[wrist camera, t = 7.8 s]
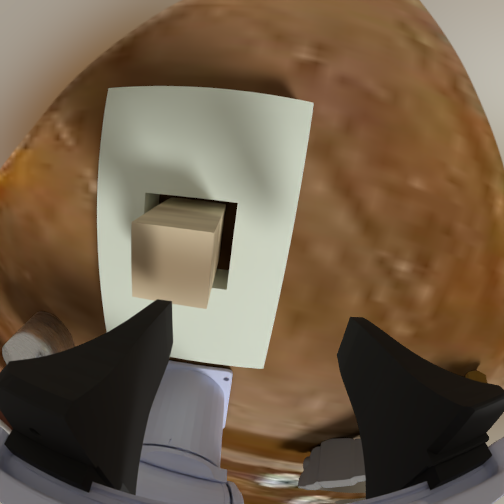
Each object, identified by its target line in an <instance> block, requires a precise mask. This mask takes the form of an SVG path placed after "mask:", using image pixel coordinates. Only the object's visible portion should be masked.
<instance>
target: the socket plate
mask: <svg viewBox="0 0 504 504" xmlns="http://www.w3.org/2000/svg"><path fill="white" fill-rule="evenodd" d="M313 105H314V103H312V102H307V101H302V100H297V99H292V98H287V97H281V96H275V95H269V94H262V93H255V92H248V91H239V90H230V89H219V88H206V87H187V86H135V87H117V88H108V94H107V99H106V105H105V112H104V119H103V126H102V135H101V144H100V155H99V169H98V190H97V239H98V259H99V273H100V285H101V294H102V303H103V311H104V318H105V325H106V331H107V332H109V331H110V330H112V329H114V328H115V327H117V326H118V325H120V324H122V323H123V322H125V321H127V320H128V319H130V318H131V317H132V316H134V315H135V314H137V313H138V312H140V311H141V310H142V309H144V308H145V307H147V306H148V305H149V304H151V303H152V302H154V300H148V299H143V298H137V297H132V275H131V225H132V221H134V220H135V219H137V218H139V217H140V216H142V215H143V214H145V213H146V212H148V211H150V210H151V209H153V208H154V207H156V206H157V205H159V197H160V194H164V195H174V196H184V197H193V198H202V199H210V200H218V201H226V202H234V203H238V205H237V212H236V220H235V228H234V235H233V243H232V251H231V259H230V267H229V270H222V269H216V273H215V277H214V281H213V285H212V289H211V293H210V297H209V301H208V305H207V309H203V308H196V307H190V306H183V305H177V304H172V322H173V345H172V350H171V354H170V357H173V358H179V359H185V360H191V361H198V362H205V363H212V364H220V365H228V366H237V367H247V368H258V369H263V367H264V363H265V358H266V354H267V350H268V346H269V341H270V337H271V332H272V328H273V324H274V319H275V314H276V310H277V305H278V301H279V296H280V291H281V286H282V282H283V277H284V272H285V267H286V262H287V257H288V252H289V247H290V242H291V236H292V231H293V226H294V221H295V215H296V210H297V204H298V199H299V193H300V187H301V181H302V175H303V170H304V164H305V157H306V151H307V145H308V139H309V132H310V126H311V119H312V112H313Z"/></svg>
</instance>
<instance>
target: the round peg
mask: <svg viewBox="0 0 504 504" xmlns="http://www.w3.org/2000/svg"><path fill="white" fill-rule="evenodd" d="M73 347H74V342H73V339H72V336H71V334H70V333H69V331H68V329H67V328H66V327H65V326H64V324H63V323H62V322H61V321H60V320H59V319H57V318H56V317H55V316H53V315H52V314H50V313H47V312H44V311H40V312H37V313H36V314H35V315H33V316H32V317H31V318H30V319H29V320H28V321H27V322H26V323H25V324H24V325H23V326H22V327H21V328H20V329H19V330H18V331H17V332H16V333H15V334H14V335H13V336H12V337H11V338H10V339H9V341H8V342H7V343H6V344H5V345H4V346H3V348H2V354H3V358H4V360H5V362H6V364H8V363H9V362H10V361H16V360H24V359H31V358H37V357H42V356H47V355H51V354H55V353H58V352H62V351H65V350H68V349H70V348H73Z"/></svg>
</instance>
